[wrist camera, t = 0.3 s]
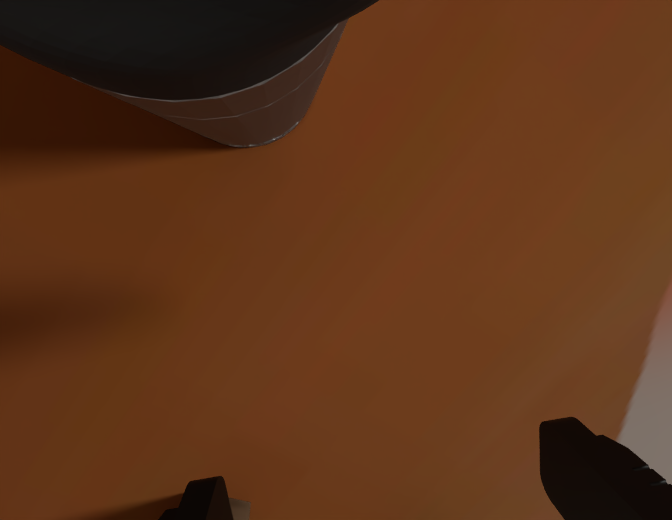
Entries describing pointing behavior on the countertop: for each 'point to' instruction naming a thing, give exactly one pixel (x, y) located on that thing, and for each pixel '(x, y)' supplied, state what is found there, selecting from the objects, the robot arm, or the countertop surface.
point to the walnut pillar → (240, 509)
